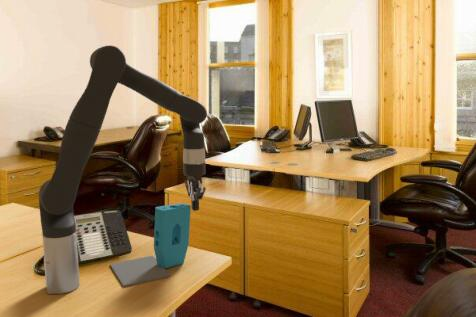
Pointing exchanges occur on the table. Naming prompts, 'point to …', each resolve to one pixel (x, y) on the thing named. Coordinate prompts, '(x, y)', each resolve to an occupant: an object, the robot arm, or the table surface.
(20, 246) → the table surface
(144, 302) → the table surface
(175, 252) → the block
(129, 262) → the mat
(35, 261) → the table surface
